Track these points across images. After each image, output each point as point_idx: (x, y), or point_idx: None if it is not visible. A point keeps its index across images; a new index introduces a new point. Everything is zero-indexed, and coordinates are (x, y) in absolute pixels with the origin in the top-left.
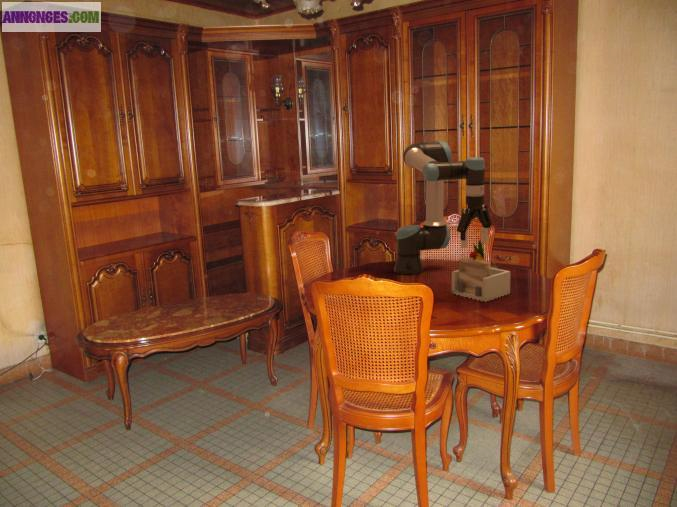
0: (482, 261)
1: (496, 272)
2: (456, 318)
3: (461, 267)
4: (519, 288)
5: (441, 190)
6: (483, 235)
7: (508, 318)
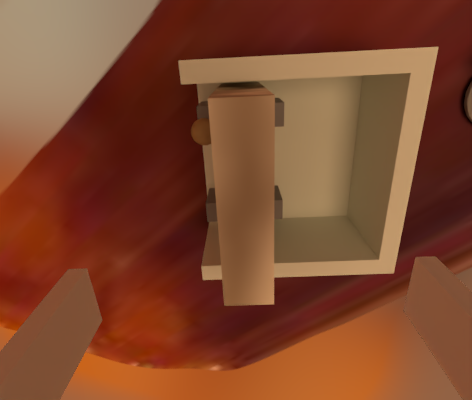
0: (268, 258)
1: (380, 206)
2: (26, 265)
3: (200, 130)
4: (441, 202)
5: None
6: (463, 348)
7: (148, 341)
